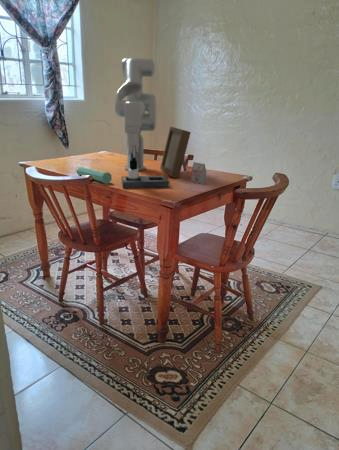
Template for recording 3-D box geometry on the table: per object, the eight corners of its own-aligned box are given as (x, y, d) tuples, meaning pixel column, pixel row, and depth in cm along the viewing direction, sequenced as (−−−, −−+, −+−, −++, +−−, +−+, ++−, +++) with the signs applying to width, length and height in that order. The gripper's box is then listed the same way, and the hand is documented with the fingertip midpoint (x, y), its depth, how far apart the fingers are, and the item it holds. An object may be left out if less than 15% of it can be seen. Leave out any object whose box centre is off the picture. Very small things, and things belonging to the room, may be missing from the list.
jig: (121, 182, 177) (121, 176, 176) (164, 181, 181) (164, 175, 180) (122, 188, 166) (122, 181, 165) (168, 187, 170) (169, 180, 169)
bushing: (128, 183, 175) (127, 167, 172) (138, 183, 176) (138, 167, 173) (128, 186, 170) (128, 170, 167) (139, 186, 171) (139, 169, 168)
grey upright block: (195, 180, 185) (196, 161, 181) (205, 183, 181) (206, 163, 177) (190, 182, 182) (191, 162, 179) (201, 184, 178) (202, 164, 175)
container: (73, 174, 188) (100, 182, 171) (76, 164, 187) (103, 170, 171) (82, 177, 192) (110, 185, 176) (85, 167, 192) (113, 173, 175)
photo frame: (171, 178, 190) (172, 130, 181) (160, 170, 209) (160, 126, 200) (197, 176, 194) (199, 130, 185) (183, 169, 213) (185, 126, 205)
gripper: (123, 128, 170) (124, 166, 176) (125, 131, 156) (126, 172, 162) (139, 128, 171) (139, 166, 177) (142, 131, 157) (142, 171, 164)
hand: (133, 168), depth 170 cm, fingers closed
